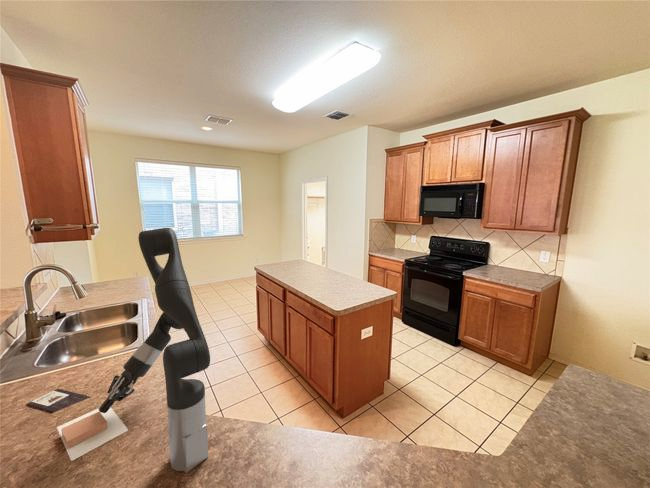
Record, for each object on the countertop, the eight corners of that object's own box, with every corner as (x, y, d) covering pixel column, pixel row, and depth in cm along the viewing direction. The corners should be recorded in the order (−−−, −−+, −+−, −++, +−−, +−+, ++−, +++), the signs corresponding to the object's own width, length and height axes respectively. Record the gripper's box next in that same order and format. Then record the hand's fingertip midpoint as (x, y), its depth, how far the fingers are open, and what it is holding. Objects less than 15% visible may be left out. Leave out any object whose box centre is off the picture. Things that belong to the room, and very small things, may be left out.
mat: (128, 432, 81) (128, 430, 81) (71, 463, 70) (71, 461, 70) (108, 406, 93) (108, 404, 92) (56, 429, 82) (56, 427, 82)
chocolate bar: (60, 413, 88) (26, 404, 93) (60, 416, 88) (26, 406, 93) (90, 396, 97) (57, 388, 102) (90, 399, 97) (57, 390, 102)
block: (107, 422, 81) (67, 441, 74) (107, 428, 81) (67, 449, 74) (99, 411, 86) (61, 428, 79) (99, 417, 86) (61, 435, 79)
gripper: (127, 349, 94) (84, 400, 85) (141, 360, 86) (96, 418, 77) (144, 357, 98) (106, 406, 89) (159, 368, 90) (119, 423, 82)
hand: (101, 411), depth 83 cm, fingers closed
